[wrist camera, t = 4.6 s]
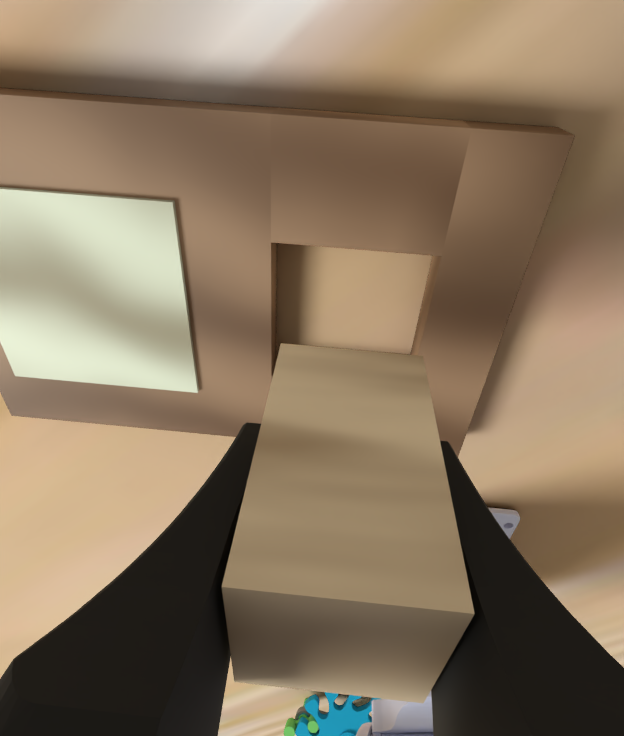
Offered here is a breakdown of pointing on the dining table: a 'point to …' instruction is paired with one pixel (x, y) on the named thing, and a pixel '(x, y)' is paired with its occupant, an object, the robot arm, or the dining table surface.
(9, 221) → the pocket board
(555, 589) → the dining table surface
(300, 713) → the gear
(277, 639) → the maple block
